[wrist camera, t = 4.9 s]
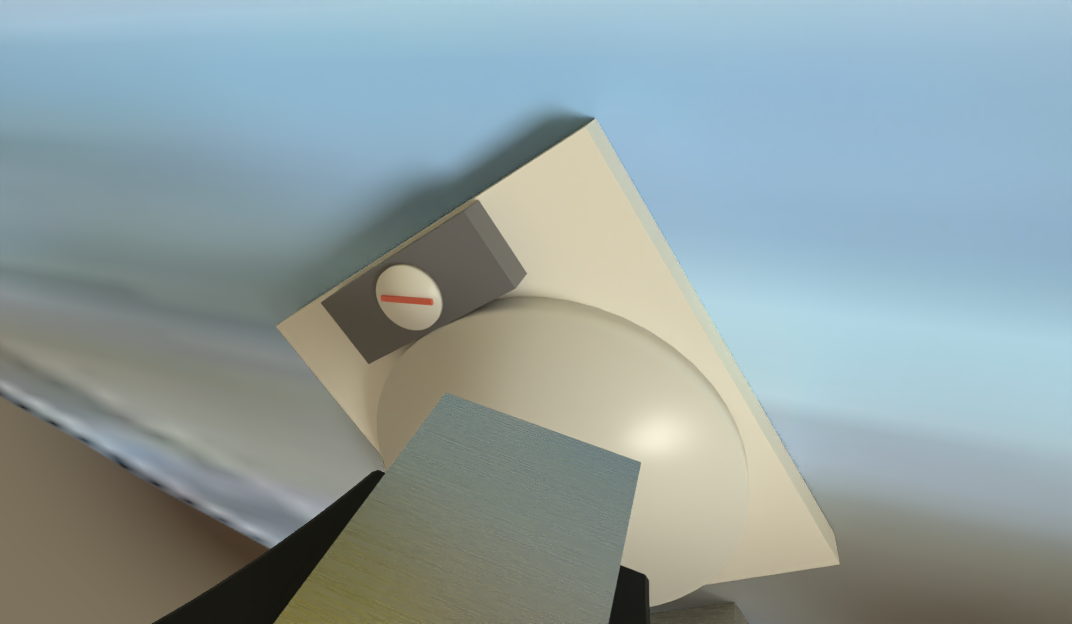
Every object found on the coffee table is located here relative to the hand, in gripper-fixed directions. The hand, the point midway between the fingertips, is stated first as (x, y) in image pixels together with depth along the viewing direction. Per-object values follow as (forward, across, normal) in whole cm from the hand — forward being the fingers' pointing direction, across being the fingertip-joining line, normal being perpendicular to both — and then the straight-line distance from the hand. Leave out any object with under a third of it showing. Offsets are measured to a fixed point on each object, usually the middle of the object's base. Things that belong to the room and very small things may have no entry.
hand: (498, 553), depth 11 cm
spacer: (+2, 0, 0) cm, 2 cm away
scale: (+8, 0, +4) cm, 9 cm away
